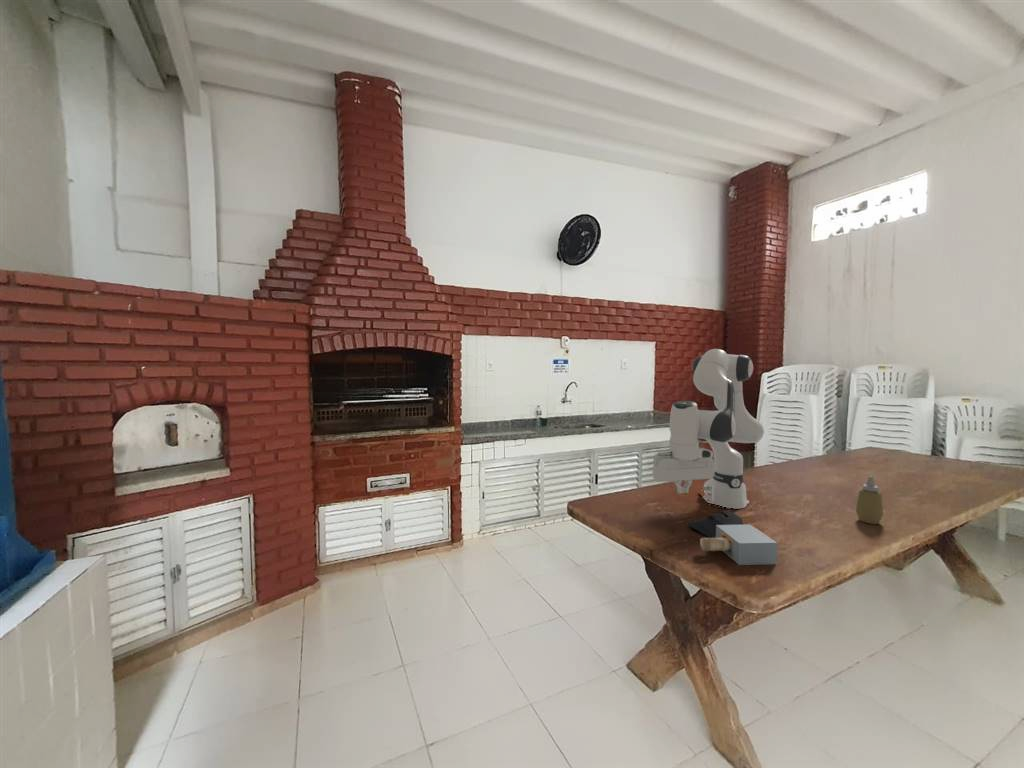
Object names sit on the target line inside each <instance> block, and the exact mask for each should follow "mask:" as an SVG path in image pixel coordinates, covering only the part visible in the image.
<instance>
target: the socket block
mask: <svg viewBox="0 0 1024 768" xmlns="http://www.w3.org/2000/svg"><path fill="white" fill-rule="evenodd" d="M716 538H728V539H729V540H730V541H731V550H730V551H723V553H724V554H726V555H727V556H728V557H729V558H730V559H732V560H733V562H735V563H736V564H737V565H738V566H752V565H753V566H754V565H757V566H758V565H760V566H761V565H777V560H778V558H777V557H778V556H777V555H778V542H777V541H775V540H774V539H773V538H771V537H769V536H768V535H766V533H763V532H762V531H761V530H759V529H757V528H756V526H755V527H754V526H753V525H751V524H744V525H716Z"/></svg>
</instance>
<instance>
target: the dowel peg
mask: <svg viewBox="0 0 1024 768" xmlns="http://www.w3.org/2000/svg"><path fill="white" fill-rule="evenodd" d="M699 542H700V543H699V544H700V548H701V550H702V551H703V552H720V551H722V552H724V551H730V550H731V541H730V540H729V539H728V538H709V537H701V538H700V540H699Z"/></svg>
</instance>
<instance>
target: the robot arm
mask: <svg viewBox="0 0 1024 768" xmlns="http://www.w3.org/2000/svg"><path fill="white" fill-rule="evenodd" d="M753 371H754V364H753V360H752V358H750V356H748V355H744V354H739V355H738V354H730V353H727V352H726V351H725V350H723V349H720V348H712V349H709V350H707V351H706V352H705V353H704V354H703V355H699V356H697V357H695V358H694V359H693V362H692V365H691V373H692V376H693V377H692V379H693V381H692V382H693V384H694V386H695V387H696V389H697V390H698V391H699V392H701V393H702V394H705V395H706V396H710V397H713V403H714V406H715V408H716V409H717V410H708V409H705V410H704V409H698V404H697V403H696V402H694V401H691V400H681V401H676V402H674V403H672V406H671V409H670V416H669V432H670V437H669V441H668V442H669V443H668V444H669V445H668V451H665V452H661V451H660V452H657V453H656V454H655V455H654V456H653V467H652V474H651V475H652V478H653V479H654V480H655V481H657V482H660V483H661V482H662V483H663V482H674V484H675V487H677V490H676V492H677V494H680V495H682V494H689V489H690V487H691V486H692V484H693V481H694V480H696V481H698V480H707V481H705V482H704V484H703V487H702V491H703V490H704V493H705V495H706V496H705V495H704V496H703V498H704V499H705V500H706V501H707V500H708V501H707V502H708V503H712V504H716V505H720V506H723V507H722V508H724V507H726V509H731V508H733V510H734V509H744V508H747V505H749V504H750V501H749V500H748V498H747V486H746V484H745V483H744V482H745V475H744V472H743V471H744V457H743V455H742V453H740V452H739V451H737V450H736V449H735V448H732V447H731V446H730V444H729V442H731V443H741V444H755V443H758V442H760V441H761V440H762V439H763V436H764V434H765V433H764V432H765V429H764V426H763V424H762V423H761V422H760V420H758V419H757V418H755V417H754V416H753V415H751V414H750V413H749V411H748V409H746V408H747V407H746V406H745V403H744V393H743V390H744V389H743V382H745V381H747V380H749V379H751V377H752V375H753ZM699 439H702V440H705V441H706V442H707V443H708V444H709V446H710V447H711V449H712V450H711V449H707V448H704V447H702V446H699V445H700V443H699ZM713 458H714V459H713ZM682 481H684V482H685V483H684V485H683V486H682V485H681V484H682V483H683V482H682ZM703 498H702V499H703ZM716 505H715V506H716ZM720 506H719V507H720Z"/></svg>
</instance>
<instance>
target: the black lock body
mask: <svg viewBox="0 0 1024 768" xmlns="http://www.w3.org/2000/svg"><path fill="white" fill-rule="evenodd" d="M716 525H745V524H744V523H743V518H742V517H740V516H739V515H737V514H735V513H733V512H732V511H731V510H729V509H726V510H724V511H720V513H719V512H716V513H710V514H709V515H707V516H706V517H705V518H698V519H695V520H690V521H687V526H688V527H690V528H691V529H693V530H696V531H698V532H699V533H700V534H702V535H704V536H705V537H706V538H716Z"/></svg>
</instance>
